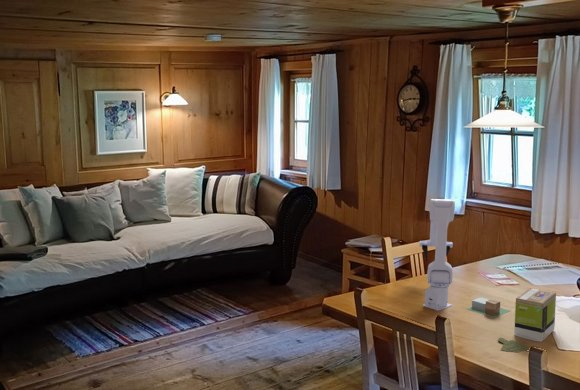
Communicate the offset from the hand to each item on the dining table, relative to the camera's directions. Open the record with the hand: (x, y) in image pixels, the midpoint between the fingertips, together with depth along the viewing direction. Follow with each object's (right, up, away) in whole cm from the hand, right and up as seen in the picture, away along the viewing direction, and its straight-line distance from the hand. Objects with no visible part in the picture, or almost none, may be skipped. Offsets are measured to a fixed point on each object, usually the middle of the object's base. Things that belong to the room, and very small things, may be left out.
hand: (435, 260), depth 292 cm
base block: (+12, -16, -32) cm, 38 cm away
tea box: (+23, -21, -59) cm, 66 cm away
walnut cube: (+14, -17, -39) cm, 45 cm away
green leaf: (+12, -23, -73) cm, 78 cm away
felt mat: (+13, -16, -35) cm, 41 cm away
